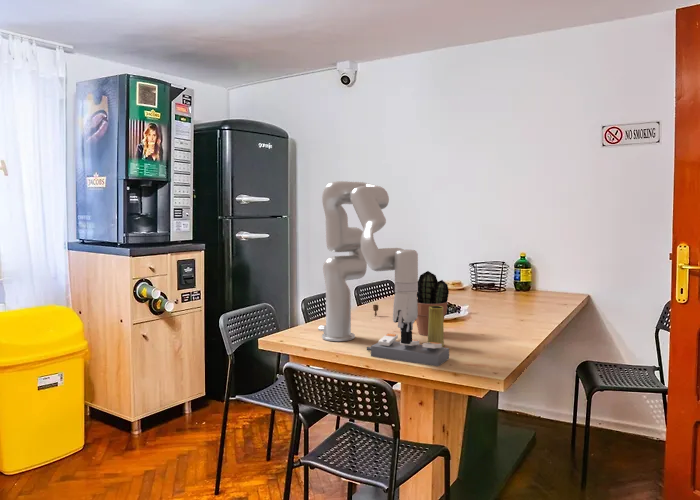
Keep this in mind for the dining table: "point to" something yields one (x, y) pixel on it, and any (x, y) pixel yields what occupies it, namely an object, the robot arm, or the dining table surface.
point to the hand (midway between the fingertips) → (406, 342)
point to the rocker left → (387, 339)
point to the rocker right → (432, 345)
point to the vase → (436, 325)
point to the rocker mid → (414, 342)
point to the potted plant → (430, 299)
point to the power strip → (410, 353)
